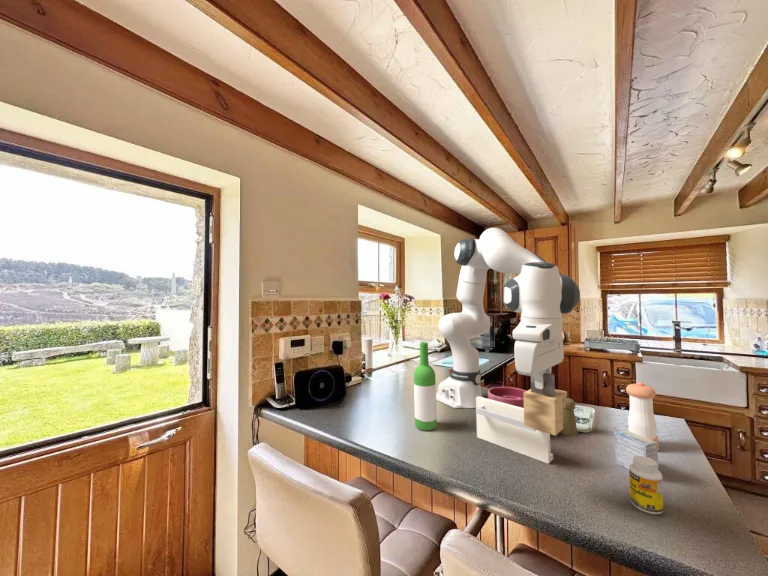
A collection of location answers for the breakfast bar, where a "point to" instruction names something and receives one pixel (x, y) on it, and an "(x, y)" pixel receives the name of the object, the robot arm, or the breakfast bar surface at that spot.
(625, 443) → the medicine box
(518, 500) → the breakfast bar surface
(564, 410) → the pepper shaker
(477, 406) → the wall board
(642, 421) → the pepper shaker
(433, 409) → the wine bottle
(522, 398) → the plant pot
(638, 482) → the supplement bottle
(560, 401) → the oak cabinet block
